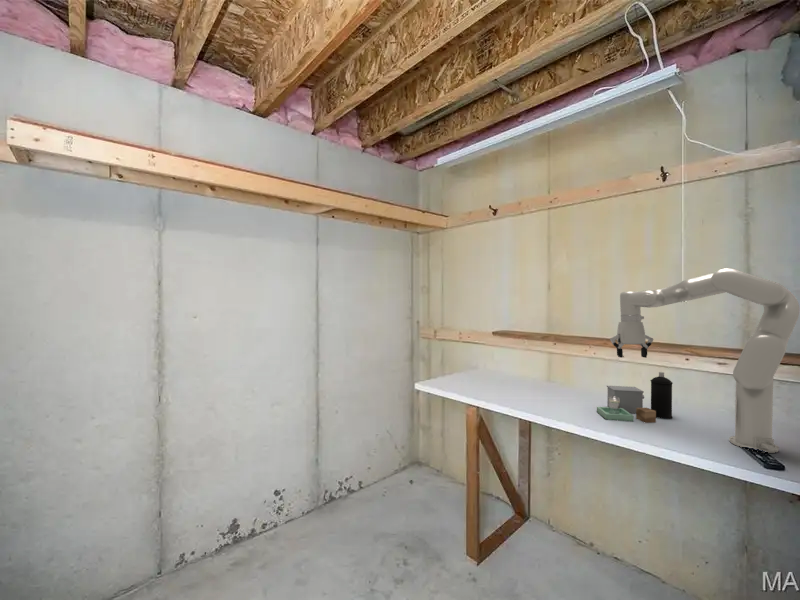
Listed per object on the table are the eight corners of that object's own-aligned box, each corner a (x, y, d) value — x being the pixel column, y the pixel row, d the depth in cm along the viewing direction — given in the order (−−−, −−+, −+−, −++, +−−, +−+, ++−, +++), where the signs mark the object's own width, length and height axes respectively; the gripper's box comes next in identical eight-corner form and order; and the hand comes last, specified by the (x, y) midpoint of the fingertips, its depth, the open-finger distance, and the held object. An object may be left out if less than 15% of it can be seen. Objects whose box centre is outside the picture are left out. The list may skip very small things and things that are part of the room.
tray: (633, 421, 152) (633, 415, 152) (606, 419, 154) (606, 414, 154) (622, 413, 163) (622, 408, 163) (596, 411, 164) (596, 406, 164)
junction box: (647, 414, 161) (648, 391, 161) (613, 412, 164) (614, 389, 164) (638, 408, 170) (638, 386, 170) (606, 406, 172) (606, 385, 172)
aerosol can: (676, 419, 154) (677, 374, 154) (655, 418, 156) (656, 373, 156) (666, 413, 162) (666, 371, 162) (646, 412, 164) (646, 370, 164)
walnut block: (655, 422, 151) (655, 411, 151) (645, 423, 150) (645, 411, 150) (646, 418, 156) (646, 407, 156) (636, 419, 155) (636, 407, 155)
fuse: (621, 417, 156) (621, 398, 155) (611, 416, 156) (611, 397, 156) (617, 413, 160) (617, 395, 160) (607, 413, 161) (607, 394, 160)
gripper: (647, 318, 158) (648, 356, 158) (606, 319, 161) (607, 356, 161) (656, 319, 151) (658, 358, 151) (613, 319, 154) (614, 358, 153)
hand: (632, 357), depth 156 cm, fingers open, 9 cm apart
